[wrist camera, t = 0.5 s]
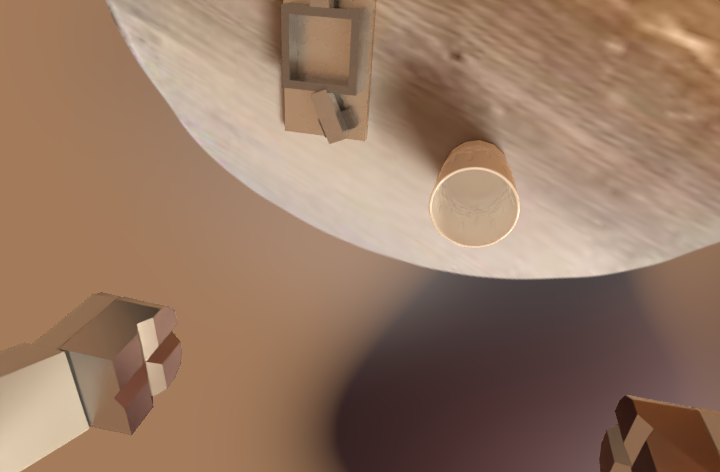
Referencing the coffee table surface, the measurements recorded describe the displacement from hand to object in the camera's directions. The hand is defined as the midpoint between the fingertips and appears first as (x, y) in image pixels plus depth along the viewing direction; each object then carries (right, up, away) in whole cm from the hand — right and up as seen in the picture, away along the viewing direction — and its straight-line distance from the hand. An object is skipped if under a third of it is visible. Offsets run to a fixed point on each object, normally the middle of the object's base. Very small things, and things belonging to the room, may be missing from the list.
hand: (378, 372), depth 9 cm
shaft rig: (-3, +22, +41) cm, 46 cm away
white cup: (+12, +10, +44) cm, 46 cm away
